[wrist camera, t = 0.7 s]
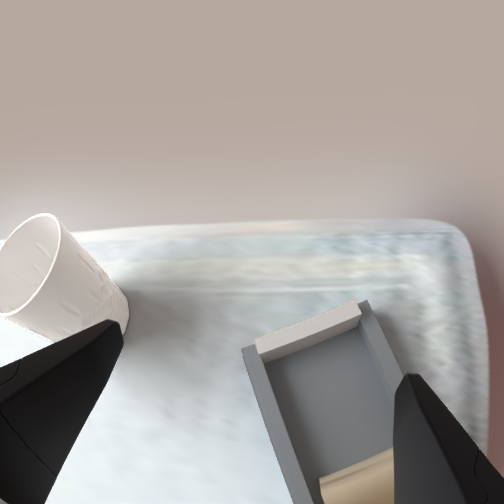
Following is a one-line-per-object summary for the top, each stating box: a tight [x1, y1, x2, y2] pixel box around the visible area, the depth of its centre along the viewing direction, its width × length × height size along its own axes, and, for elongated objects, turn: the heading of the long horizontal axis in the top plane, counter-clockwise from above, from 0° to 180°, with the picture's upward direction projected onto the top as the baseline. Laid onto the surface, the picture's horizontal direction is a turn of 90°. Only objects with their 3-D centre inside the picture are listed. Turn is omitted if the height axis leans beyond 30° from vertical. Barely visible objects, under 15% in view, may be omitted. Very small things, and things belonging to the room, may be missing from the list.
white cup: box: [0, 213, 129, 343], centre depth 21 cm, size 8×8×10 cm
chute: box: [241, 300, 404, 504], centre depth 15 cm, size 15×9×3 cm, turn 18°
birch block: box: [319, 447, 394, 504], centre depth 11 cm, size 5×5×5 cm
